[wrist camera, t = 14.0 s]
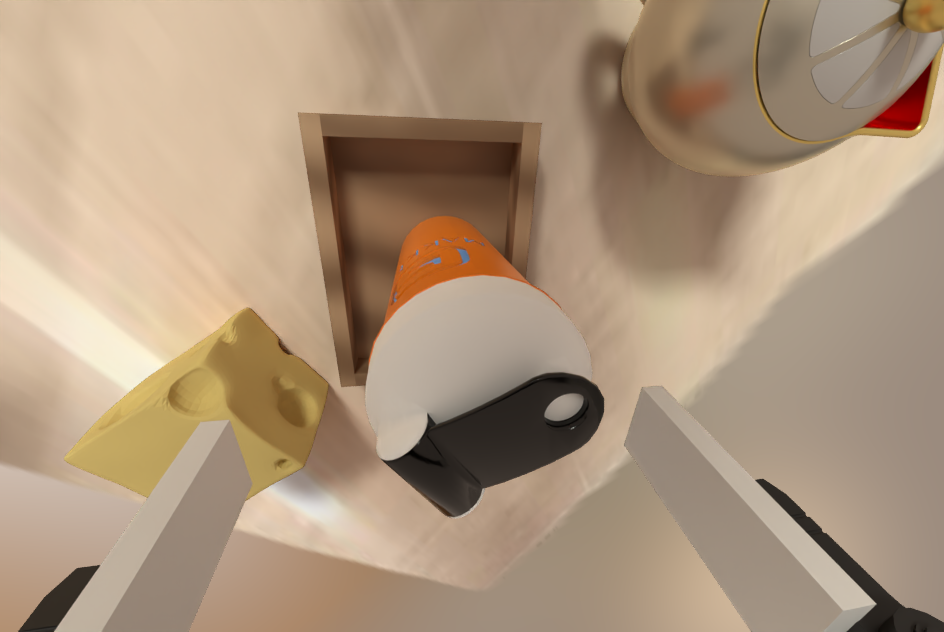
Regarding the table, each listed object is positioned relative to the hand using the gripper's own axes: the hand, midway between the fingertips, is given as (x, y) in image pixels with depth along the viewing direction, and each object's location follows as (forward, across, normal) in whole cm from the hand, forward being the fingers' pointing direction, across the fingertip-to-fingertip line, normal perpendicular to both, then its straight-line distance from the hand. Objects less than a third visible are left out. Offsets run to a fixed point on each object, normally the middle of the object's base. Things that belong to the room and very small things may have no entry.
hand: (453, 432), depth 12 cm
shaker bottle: (+19, +1, 0) cm, 19 cm away
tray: (+20, 0, -1) cm, 20 cm away
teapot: (+21, +17, +14) cm, 31 cm away
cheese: (+21, -16, -12) cm, 28 cm away
